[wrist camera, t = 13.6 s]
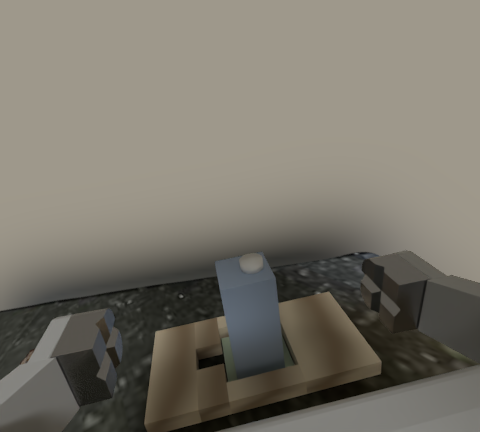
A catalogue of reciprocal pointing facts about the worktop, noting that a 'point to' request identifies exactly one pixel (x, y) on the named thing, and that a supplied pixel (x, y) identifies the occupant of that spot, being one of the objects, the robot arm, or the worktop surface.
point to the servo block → (251, 313)
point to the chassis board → (258, 386)
